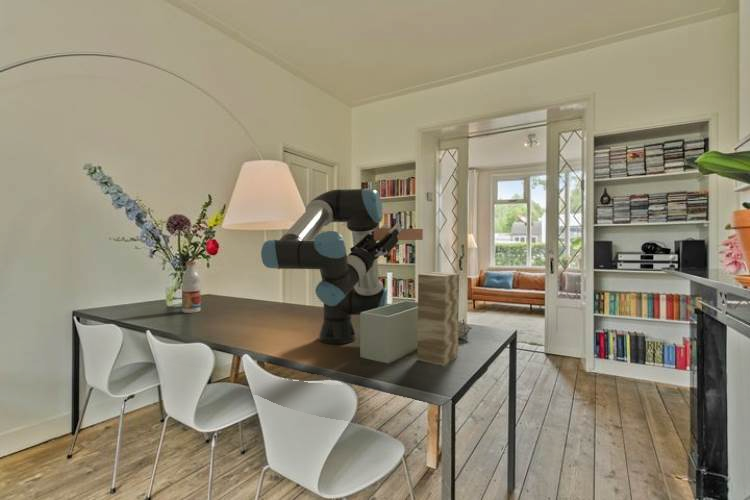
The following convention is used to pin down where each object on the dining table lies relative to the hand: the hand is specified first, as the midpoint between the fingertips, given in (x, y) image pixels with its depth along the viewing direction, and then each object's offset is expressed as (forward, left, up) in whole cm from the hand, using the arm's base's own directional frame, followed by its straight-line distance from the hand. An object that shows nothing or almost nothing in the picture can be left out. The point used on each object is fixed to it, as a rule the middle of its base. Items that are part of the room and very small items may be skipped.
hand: (393, 226), depth 122 cm
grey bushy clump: (-15, +40, -47) cm, 64 cm away
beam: (-2, +4, -5) cm, 6 cm away
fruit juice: (-121, -66, -47) cm, 145 cm away
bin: (-13, +9, -47) cm, 49 cm away
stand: (+2, +17, -47) cm, 50 cm away
